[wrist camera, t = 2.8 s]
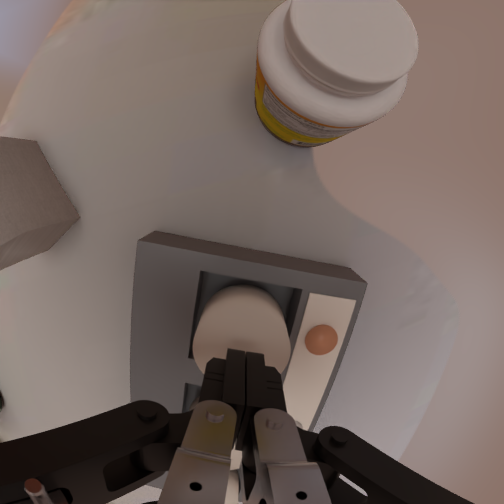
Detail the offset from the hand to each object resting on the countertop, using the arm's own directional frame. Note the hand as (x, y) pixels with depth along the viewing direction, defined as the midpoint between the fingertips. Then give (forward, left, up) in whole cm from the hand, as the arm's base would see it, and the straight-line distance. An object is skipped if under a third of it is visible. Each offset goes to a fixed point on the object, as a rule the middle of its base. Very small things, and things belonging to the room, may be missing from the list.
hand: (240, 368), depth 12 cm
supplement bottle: (-13, +1, -7) cm, 15 cm away
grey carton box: (-5, -15, -7) cm, 17 cm away
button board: (+7, 0, -7) cm, 10 cm away
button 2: (0, 0, -4) cm, 4 cm away
